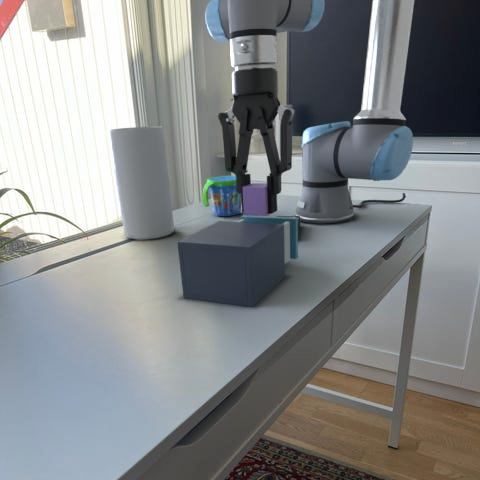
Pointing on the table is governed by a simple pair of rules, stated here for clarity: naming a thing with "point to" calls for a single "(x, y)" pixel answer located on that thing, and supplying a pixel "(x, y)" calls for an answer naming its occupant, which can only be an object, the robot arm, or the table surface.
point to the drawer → (289, 232)
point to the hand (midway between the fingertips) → (259, 211)
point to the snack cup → (223, 195)
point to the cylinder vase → (142, 181)
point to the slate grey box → (232, 262)
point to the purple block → (255, 199)
